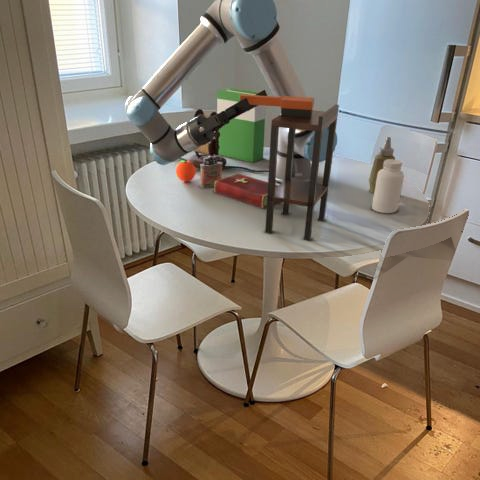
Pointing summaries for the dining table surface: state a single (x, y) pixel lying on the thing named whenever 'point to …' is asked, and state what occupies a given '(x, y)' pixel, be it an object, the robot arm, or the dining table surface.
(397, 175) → the pill bottle
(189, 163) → the clementine
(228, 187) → the hardcover book
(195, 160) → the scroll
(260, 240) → the dining table surface
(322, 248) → the dining table surface
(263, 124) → the green cereal box
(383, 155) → the squeeze bottle
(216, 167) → the lighter
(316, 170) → the metal plant stand
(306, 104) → the brush
